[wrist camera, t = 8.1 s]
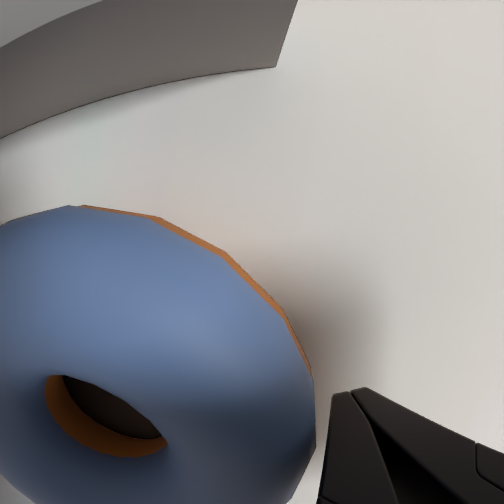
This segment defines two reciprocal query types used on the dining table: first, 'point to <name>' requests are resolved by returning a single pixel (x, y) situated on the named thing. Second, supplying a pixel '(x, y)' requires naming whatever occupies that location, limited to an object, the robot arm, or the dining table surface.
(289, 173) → the dining table surface
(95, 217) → the doughnut
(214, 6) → the box
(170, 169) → the dining table surface
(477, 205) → the dining table surface
